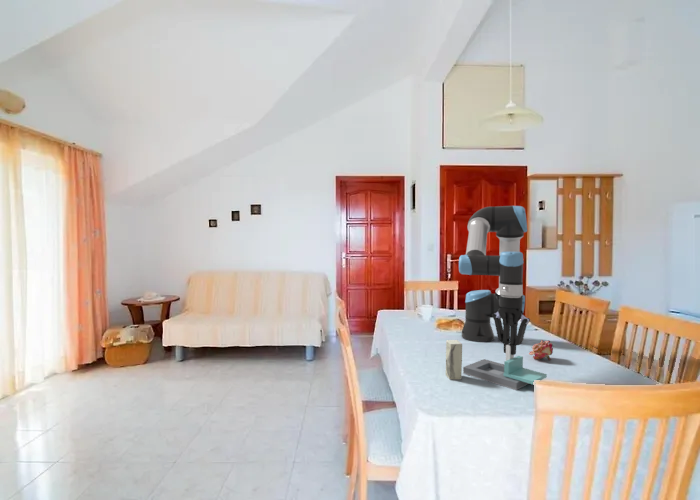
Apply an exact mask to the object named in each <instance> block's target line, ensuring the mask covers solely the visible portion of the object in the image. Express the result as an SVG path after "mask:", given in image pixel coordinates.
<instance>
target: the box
mask: <svg viewBox="0 0 700 500" xmlns="http://www.w3.org/2000/svg"><path fill="white" fill-rule="evenodd" d="M445 345H446V347H445V376H446V377H447V378H448V379H449V380H450V381H451V380H462V371H463V370H462V368H463V367H462V365H463V363H462V362H463V343H462V342H460V341H459V340H458V339H448V340H447V339H446V344H445Z"/></svg>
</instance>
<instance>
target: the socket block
mask: <svg viewBox="0 0 700 500" xmlns="http://www.w3.org/2000/svg"><path fill="white" fill-rule="evenodd" d="M462 368H463V370H462V371H463V373H462V374H464V375H467V376H471V377H473V378H477V379H480V380H483V381H486V382H489V383H493V384H496V385H499V386H502V387H504V388H508V389H511V390H515V391H518V390H519V389H521V388H523V387H525V386H526V385H527V386H528V385H529V383H526V382H523V381H519V380H516V379H512V378H509V377H506V376H504V364H503V363H499V362H496V361H492V360H489V359H486V358H485V359H484V358H483V359H480V360H478V361H475V362H472V363H470V364H468V365H465V366H463V367H462Z"/></svg>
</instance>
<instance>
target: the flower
mask: <svg viewBox="0 0 700 500" xmlns="http://www.w3.org/2000/svg"><path fill="white" fill-rule="evenodd" d="M531 349H532V350H531V351H529V353H528V355H531V356H532V358H533V359H534V360H542V359H547V360H548V361H549V362H550V361H552V359H551V358H550V356H551V355H552V354H553V353H554V345H553V343H552V342H551V341H550V340H545V341H543V340H541V341H540V342H539V343H534V344H533V345H532V347H531Z"/></svg>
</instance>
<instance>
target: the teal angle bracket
mask: <svg viewBox="0 0 700 500" xmlns="http://www.w3.org/2000/svg"><path fill="white" fill-rule="evenodd" d="M503 362H504V376H506V377H509V378H512V379H516V380H519V381H523V382H526V383H529V384H530V385H534V384H533V382H534V380H540V381H543V380H544V379H546V378H547V375H548V374H547V373H543V372H539V371H536V370H532V369H529V368H526V367H524V365H523V364H524V356H522V355H516V356H515V357H514V358H512V359H509V360H507V361H506V360H505V361H503ZM529 384H528V385H529Z"/></svg>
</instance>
